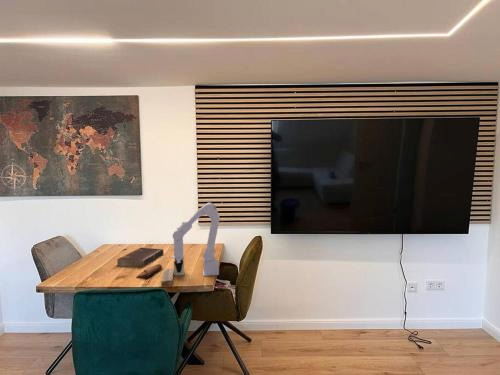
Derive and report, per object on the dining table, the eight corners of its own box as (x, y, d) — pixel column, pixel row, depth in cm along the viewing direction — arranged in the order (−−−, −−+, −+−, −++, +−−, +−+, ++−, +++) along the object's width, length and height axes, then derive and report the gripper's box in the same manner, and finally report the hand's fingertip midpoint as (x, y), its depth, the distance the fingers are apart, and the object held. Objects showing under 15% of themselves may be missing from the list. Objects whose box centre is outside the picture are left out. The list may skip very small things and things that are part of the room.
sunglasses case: (150, 268, 200) (154, 259, 199) (159, 274, 199) (163, 265, 198) (134, 278, 182) (139, 269, 181) (143, 284, 181) (148, 275, 180)
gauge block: (184, 271, 193) (183, 260, 192) (184, 274, 188) (183, 263, 187) (173, 272, 191) (173, 261, 191) (173, 275, 186) (173, 263, 186)
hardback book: (143, 268, 201) (142, 260, 201) (117, 266, 205) (117, 259, 204) (163, 255, 230) (163, 248, 229) (140, 253, 233) (140, 247, 233)
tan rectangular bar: (173, 272, 192) (173, 268, 192) (172, 284, 172) (172, 280, 172) (163, 273, 190) (163, 269, 190) (161, 285, 171) (161, 281, 171)
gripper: (172, 246, 195) (172, 267, 196) (171, 253, 180) (172, 275, 181) (183, 245, 196) (184, 266, 197) (183, 252, 182) (184, 274, 183)
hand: (179, 270), depth 189 cm, fingers closed on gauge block, 5 cm apart
